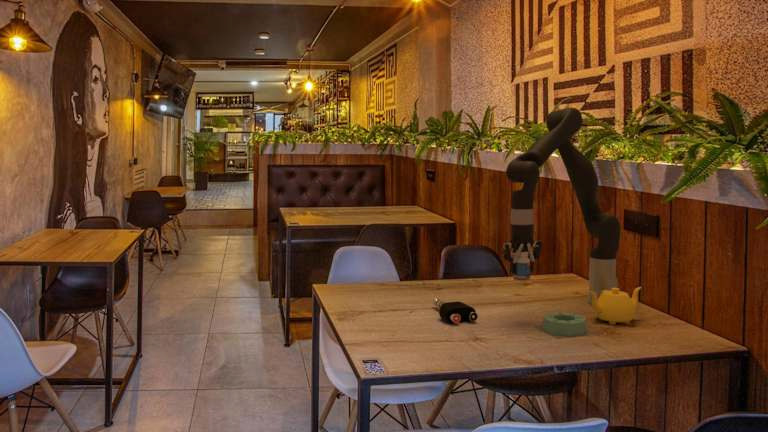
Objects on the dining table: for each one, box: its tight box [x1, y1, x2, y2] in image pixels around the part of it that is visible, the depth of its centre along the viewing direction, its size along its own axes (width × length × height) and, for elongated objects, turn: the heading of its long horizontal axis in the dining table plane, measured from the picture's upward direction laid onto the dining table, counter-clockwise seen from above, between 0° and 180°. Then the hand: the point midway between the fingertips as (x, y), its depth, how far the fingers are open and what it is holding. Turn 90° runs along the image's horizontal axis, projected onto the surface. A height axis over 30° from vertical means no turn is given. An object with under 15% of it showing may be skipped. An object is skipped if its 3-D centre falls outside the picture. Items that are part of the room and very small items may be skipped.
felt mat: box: [532, 324, 597, 340], centre depth 203 cm, size 14×14×1 cm
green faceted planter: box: [542, 311, 587, 337], centre depth 203 cm, size 12×12×4 cm
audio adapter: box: [432, 297, 479, 325], centre depth 223 cm, size 11×5×25 cm
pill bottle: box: [512, 252, 531, 283], centre depth 211 cm, size 6×5×10 cm
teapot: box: [588, 286, 642, 325], centre depth 214 cm, size 20×15×12 cm
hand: (521, 272), depth 211 cm, fingers closed on pill bottle, 5 cm apart
